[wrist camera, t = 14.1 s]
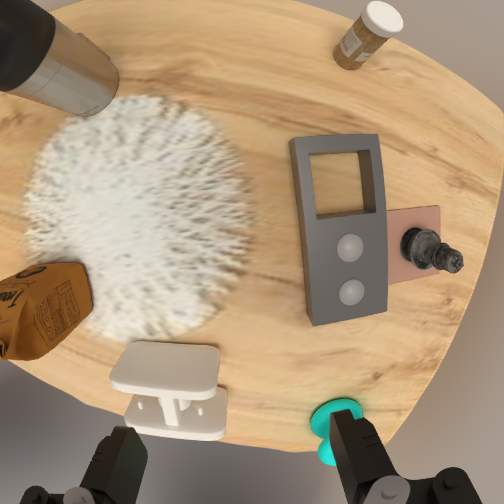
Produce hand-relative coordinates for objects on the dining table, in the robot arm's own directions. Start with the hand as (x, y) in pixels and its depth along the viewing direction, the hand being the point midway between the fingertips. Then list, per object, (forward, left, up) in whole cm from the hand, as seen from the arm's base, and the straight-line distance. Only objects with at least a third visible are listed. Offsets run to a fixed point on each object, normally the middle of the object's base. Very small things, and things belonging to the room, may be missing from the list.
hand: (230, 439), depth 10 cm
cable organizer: (+17, -12, -30) cm, 37 cm away
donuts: (+33, +13, -30) cm, 47 cm away
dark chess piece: (+2, +26, -30) cm, 39 cm away
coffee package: (+1, -29, -30) cm, 42 cm away
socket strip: (-2, +14, -30) cm, 33 cm away
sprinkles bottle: (-27, +19, -30) cm, 45 cm away
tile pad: (+2, +26, -30) cm, 40 cm away
